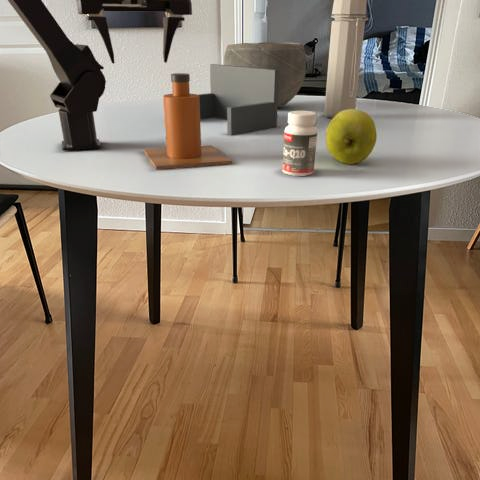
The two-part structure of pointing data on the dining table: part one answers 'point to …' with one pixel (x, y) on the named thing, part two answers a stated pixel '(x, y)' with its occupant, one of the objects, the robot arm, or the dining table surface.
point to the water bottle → (344, 55)
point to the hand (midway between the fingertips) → (139, 62)
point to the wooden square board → (207, 158)
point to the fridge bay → (242, 97)
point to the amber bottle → (182, 120)
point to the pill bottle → (300, 143)
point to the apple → (351, 136)
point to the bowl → (272, 63)
